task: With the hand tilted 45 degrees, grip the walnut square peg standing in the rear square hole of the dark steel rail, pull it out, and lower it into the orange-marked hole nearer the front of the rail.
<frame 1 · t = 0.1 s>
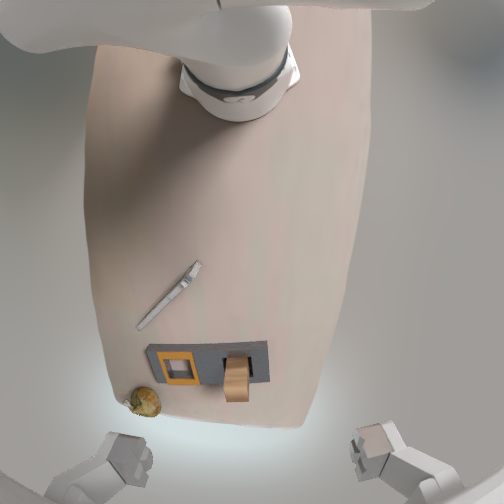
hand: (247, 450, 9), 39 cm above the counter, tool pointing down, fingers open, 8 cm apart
peg: (238, 359, 54), resting in rail
rail: (209, 360, 55), on the counter
caliper: (165, 297, 50), on the counter
onion: (149, 392, 59), on the counter
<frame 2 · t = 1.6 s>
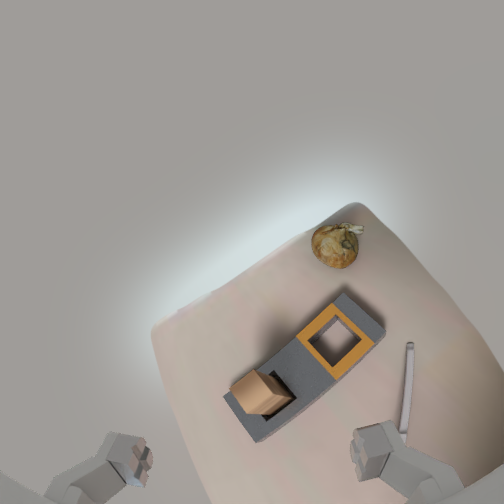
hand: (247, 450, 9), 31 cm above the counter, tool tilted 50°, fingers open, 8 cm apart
peg: (275, 397, 38), resting in rail
rail: (306, 371, 39), on the counter
caliper: (403, 412, 30), on the counter
onion: (338, 255, 47), on the counter
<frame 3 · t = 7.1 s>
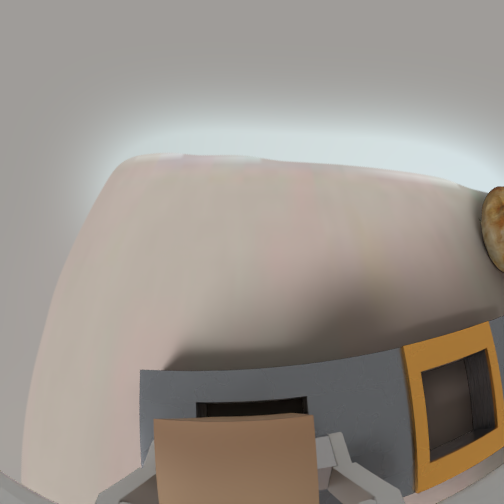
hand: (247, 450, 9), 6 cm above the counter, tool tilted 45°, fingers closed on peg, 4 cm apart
peg: (256, 446, 13), resting in rail, touching gripper
rail: (358, 432, 13), on the counter
onion: (494, 251, 19), on the counter
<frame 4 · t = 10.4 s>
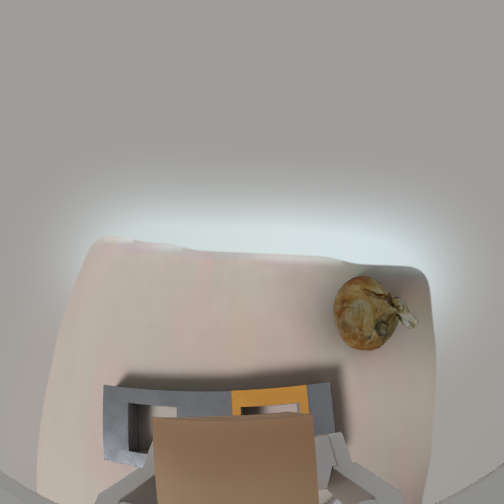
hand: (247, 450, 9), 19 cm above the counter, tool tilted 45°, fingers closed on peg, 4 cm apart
peg: (256, 446, 13), point 14 cm above the counter, touching gripper
rail: (214, 432, 25), on the counter
onion: (358, 323, 31), on the counter
when the fingers open (7 cm above the counter, at t = 13.9 s): peg drops 1 cm, resting in rail.
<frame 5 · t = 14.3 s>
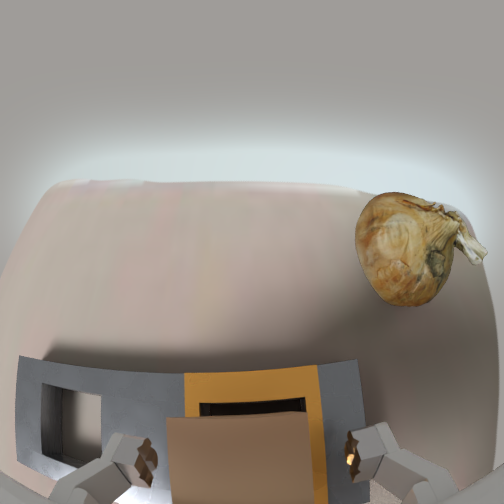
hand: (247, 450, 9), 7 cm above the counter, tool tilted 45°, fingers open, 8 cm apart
peg: (257, 443, 14), resting in rail
rail: (163, 442, 14), on the counter
onion: (390, 271, 20), on the counter
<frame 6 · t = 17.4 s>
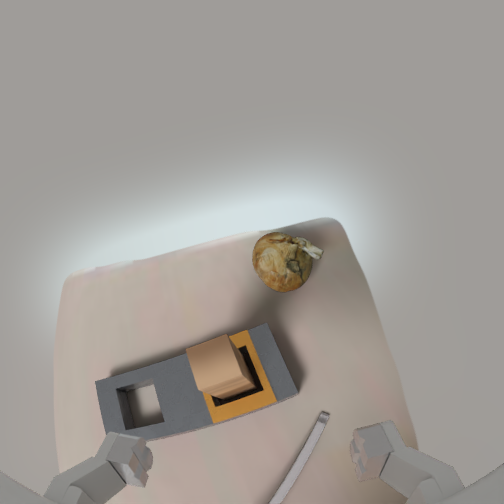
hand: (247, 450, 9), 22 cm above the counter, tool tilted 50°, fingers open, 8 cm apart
peg: (235, 379, 31), resting in rail
rail: (189, 395, 30), on the counter
caliper: (283, 486, 23), on the counter
onion: (284, 273, 38), on the counter
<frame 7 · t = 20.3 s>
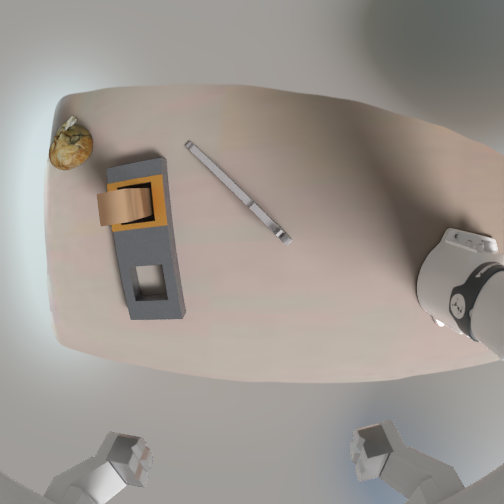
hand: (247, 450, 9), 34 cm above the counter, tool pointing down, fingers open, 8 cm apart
peg: (142, 202, 40), resting in rail
rail: (147, 241, 42), on the counter
caliper: (237, 189, 40), on the counter
onion: (81, 148, 39), on the counter
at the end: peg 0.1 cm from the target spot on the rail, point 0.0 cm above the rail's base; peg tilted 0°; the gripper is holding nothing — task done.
